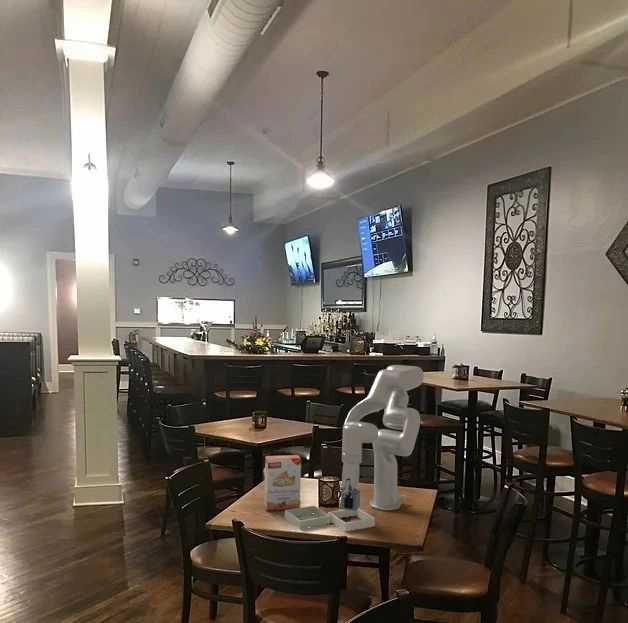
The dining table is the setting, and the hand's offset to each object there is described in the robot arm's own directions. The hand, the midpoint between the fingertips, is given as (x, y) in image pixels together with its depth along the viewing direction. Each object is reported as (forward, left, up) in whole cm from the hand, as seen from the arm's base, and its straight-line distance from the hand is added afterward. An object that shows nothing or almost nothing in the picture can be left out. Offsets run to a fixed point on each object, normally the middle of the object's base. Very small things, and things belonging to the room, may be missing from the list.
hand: (350, 505), depth 210 cm
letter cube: (0, 0, -1) cm, 1 cm away
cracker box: (+16, -27, -7) cm, 32 cm away
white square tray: (0, 0, -7) cm, 7 cm away
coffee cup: (+13, -42, -7) cm, 44 cm away
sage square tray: (+14, -9, -7) cm, 18 cm away
